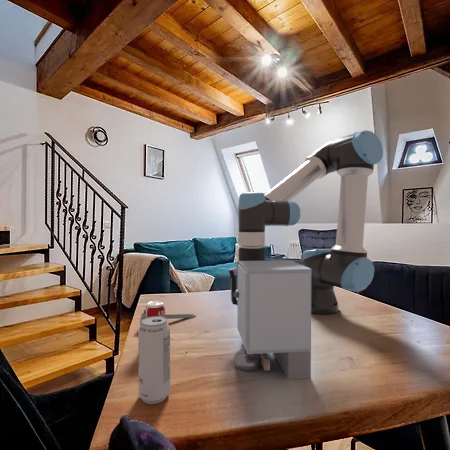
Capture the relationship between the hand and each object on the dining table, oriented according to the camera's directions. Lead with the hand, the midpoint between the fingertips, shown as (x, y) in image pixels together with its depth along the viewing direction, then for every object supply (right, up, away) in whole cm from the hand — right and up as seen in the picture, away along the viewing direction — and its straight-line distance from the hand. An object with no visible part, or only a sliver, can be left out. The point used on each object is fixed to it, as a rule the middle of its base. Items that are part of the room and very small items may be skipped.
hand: (251, 327), depth 82 cm
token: (-2, -4, -14) cm, 15 cm away
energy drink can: (-21, -4, -26) cm, 34 cm away
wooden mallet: (+1, -3, -8) cm, 8 cm away
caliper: (-26, -4, +14) cm, 30 cm away
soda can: (-26, -4, -4) cm, 27 cm away
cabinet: (+4, -4, -14) cm, 15 cm away
